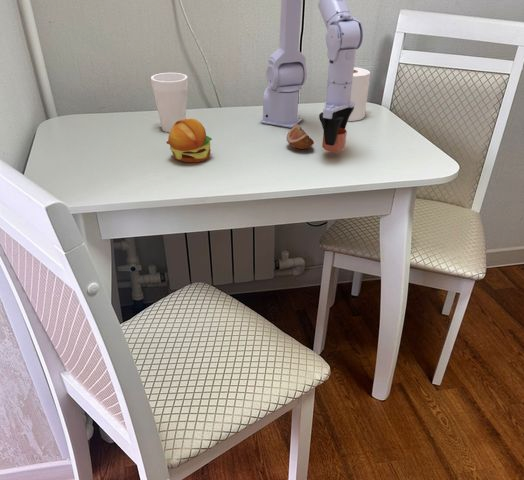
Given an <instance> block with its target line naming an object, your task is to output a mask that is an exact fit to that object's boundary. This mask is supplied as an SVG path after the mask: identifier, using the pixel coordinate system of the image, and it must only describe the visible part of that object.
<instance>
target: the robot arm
mask: <svg viewBox="0 0 524 480" xmlns="http://www.w3.org/2000/svg"><path fill="white" fill-rule="evenodd" d="M317 3H318V4H317V6H318V9H319V12H320V15H321V16H322V19H323V23H324V25H325V27H326V30H327V31H326V33H325V45H326V48H327V51H326V52H327V53H326V56H327V59H328V68H327V69H328V71H327V79H326V80H327V81H326V82H327V83H326V93H325V100H324V108H323V110H322V111H323V112H320V113H319V114H318V120H319V121H320V124H321V127H322V130H323V131H324V138H325V144H326V145H331V146H334V144H335V141H336V137H337V133H338V129H339V128H343V129H345V130H346V127H347V125H348V122H349V121H348V119H349V117H350V115H351V113H352V111H353V110H354V106H355V103H354V102H351V89H352V80H353V71H354V67H355V61H356V52H357V50H358V49H360V47H361V46H362V43H363V39H364V28H363V26H362V25H363V24H362V22H361V20H359V19H356V17H355V16H354V15H352V14H351V11H350V10H349V6H348V4H347V2H346V0H318V2H317ZM301 14H302V0H280V17H279V18H280V20H279V39H278V40H279V41H278V42H279V43H278V48H277V49H276V50H275V51H274V52H273V53H272V54H271V55H269V56H268V63H267V68H266V71H265V74H266V75H265V77H266V82H267V85H268V86H266V88H265V90H264V92H263V97H262V121H261V124H266V125H272V126H277V127H283V128H289V129H292V128H293V127H294V126H295V125H296V124H298V125H299V123H301V122H302V121H303V118H302V117H298V115H299V98H300V97H299V95H300V91H301V90H302V87H303V86H304V85H305V83H306V80H307V78H308V71H307V58H306V56H305V55H304V54H303V53H302V52H301V51H300V50H299V46H300V29H301V16H302V15H301ZM323 131H322V132H323Z"/></svg>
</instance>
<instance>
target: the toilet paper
mask: <svg viewBox="0 0 524 480" xmlns="http://www.w3.org/2000/svg"><path fill="white" fill-rule="evenodd" d="M370 79H371V71H369V70H368V69H366V68H363V67H357V66H356V67H355V66H354V71H353V80H352V89H351V102H354V103H355V106H354V110H353V111H352V113H351V115H350V117H349V119H348V121H347V122H355V121H361V120H363V119H364V118H366V117H365V116H366V110H367V109H366V108H367V102H368V93H369V87H370Z"/></svg>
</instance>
